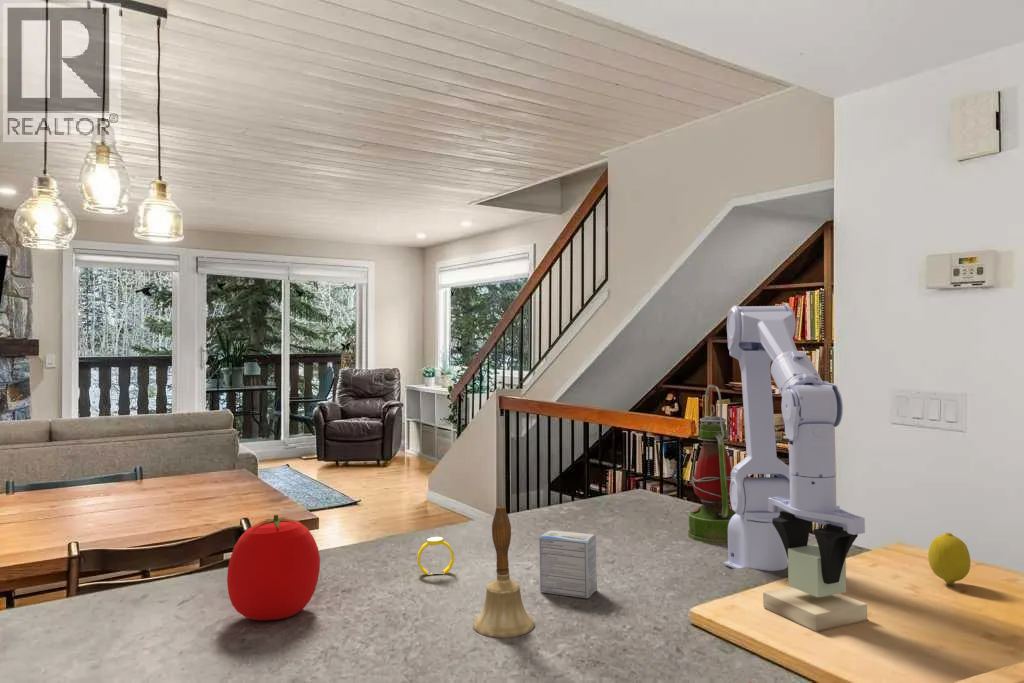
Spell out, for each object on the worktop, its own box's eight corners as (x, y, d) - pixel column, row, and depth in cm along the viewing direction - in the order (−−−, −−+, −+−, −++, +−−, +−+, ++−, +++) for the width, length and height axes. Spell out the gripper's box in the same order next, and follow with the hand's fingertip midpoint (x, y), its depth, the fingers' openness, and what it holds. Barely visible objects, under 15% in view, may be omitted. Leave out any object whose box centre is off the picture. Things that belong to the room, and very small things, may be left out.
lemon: (977, 591, 104) (976, 537, 104) (937, 589, 105) (935, 536, 105) (961, 579, 109) (960, 528, 109) (923, 577, 110) (922, 527, 110)
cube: (788, 585, 94) (787, 548, 94) (816, 580, 96) (815, 544, 96) (817, 597, 89) (817, 558, 89) (846, 592, 91) (845, 554, 91)
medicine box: (597, 590, 106) (596, 534, 106) (588, 600, 102) (587, 541, 102) (549, 584, 109) (549, 529, 110) (539, 593, 105) (538, 536, 106)
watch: (419, 579, 113) (416, 543, 113) (418, 574, 116) (415, 539, 116) (455, 574, 114) (452, 538, 114) (453, 569, 117) (450, 534, 117)
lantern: (678, 528, 143) (675, 383, 144) (728, 527, 144) (725, 383, 144) (699, 547, 129) (697, 386, 130) (755, 545, 130) (752, 385, 130)
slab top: (763, 606, 95) (763, 592, 95) (812, 597, 98) (812, 583, 98) (815, 630, 86) (815, 614, 86) (867, 619, 90) (867, 603, 90)
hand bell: (513, 643, 87) (512, 516, 88) (460, 629, 92) (459, 509, 92) (545, 621, 94) (544, 503, 95) (495, 610, 99) (493, 497, 99)
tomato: (231, 638, 90) (230, 528, 90) (223, 609, 100) (223, 511, 100) (329, 619, 96) (328, 517, 96) (312, 595, 106) (311, 502, 106)
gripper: (881, 480, 87) (883, 588, 87) (793, 464, 101) (795, 557, 101) (840, 485, 85) (842, 596, 84) (755, 467, 98) (757, 564, 98)
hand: (814, 576), depth 92 cm, fingers closed on cube, 5 cm apart
